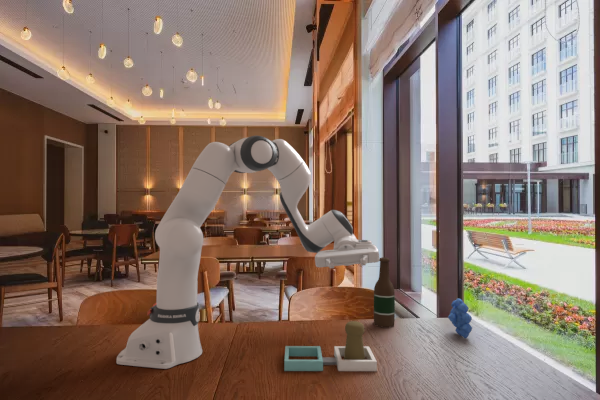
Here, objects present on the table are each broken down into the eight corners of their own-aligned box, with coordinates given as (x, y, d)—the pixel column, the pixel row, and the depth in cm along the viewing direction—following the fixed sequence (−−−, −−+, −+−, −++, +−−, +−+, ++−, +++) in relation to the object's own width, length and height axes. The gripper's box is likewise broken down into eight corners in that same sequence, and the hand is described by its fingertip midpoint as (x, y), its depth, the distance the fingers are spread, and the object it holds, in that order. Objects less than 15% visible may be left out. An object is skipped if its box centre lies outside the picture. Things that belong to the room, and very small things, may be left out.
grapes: (440, 329, 126) (440, 295, 127) (459, 329, 127) (459, 295, 127) (456, 342, 115) (456, 304, 115) (477, 342, 115) (477, 304, 115)
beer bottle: (397, 323, 133) (398, 257, 133) (391, 329, 126) (391, 260, 126) (377, 319, 137) (377, 255, 137) (369, 325, 130) (370, 258, 130)
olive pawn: (365, 368, 96) (365, 326, 96) (342, 366, 97) (342, 325, 97) (365, 359, 102) (366, 319, 102) (344, 357, 103) (344, 318, 103)
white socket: (322, 371, 94) (323, 361, 94) (320, 355, 104) (320, 346, 104) (376, 371, 94) (376, 361, 94) (368, 355, 104) (368, 346, 104)
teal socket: (284, 370, 94) (284, 361, 94) (285, 354, 104) (285, 346, 104) (322, 371, 94) (323, 361, 94) (320, 355, 104) (320, 346, 104)
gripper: (314, 245, 123) (311, 257, 110) (375, 239, 121) (380, 251, 107) (317, 263, 124) (314, 277, 111) (377, 258, 122) (382, 271, 108)
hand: (347, 264), depth 109 cm, fingers open, 8 cm apart
